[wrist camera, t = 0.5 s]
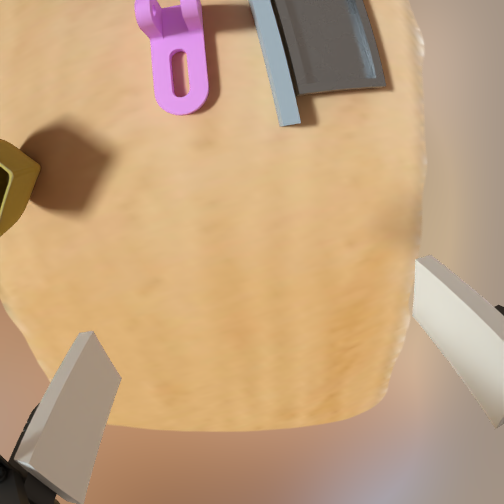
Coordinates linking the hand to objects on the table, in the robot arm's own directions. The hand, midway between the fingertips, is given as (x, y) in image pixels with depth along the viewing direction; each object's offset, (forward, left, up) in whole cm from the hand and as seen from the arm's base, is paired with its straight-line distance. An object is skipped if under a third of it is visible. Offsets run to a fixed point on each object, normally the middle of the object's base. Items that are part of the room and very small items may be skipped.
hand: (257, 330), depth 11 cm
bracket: (-17, -3, -24) cm, 30 cm away
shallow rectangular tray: (-18, +13, -24) cm, 32 cm away
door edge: (-18, +7, -24) cm, 30 cm away
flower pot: (-11, -26, -24) cm, 37 cm away
